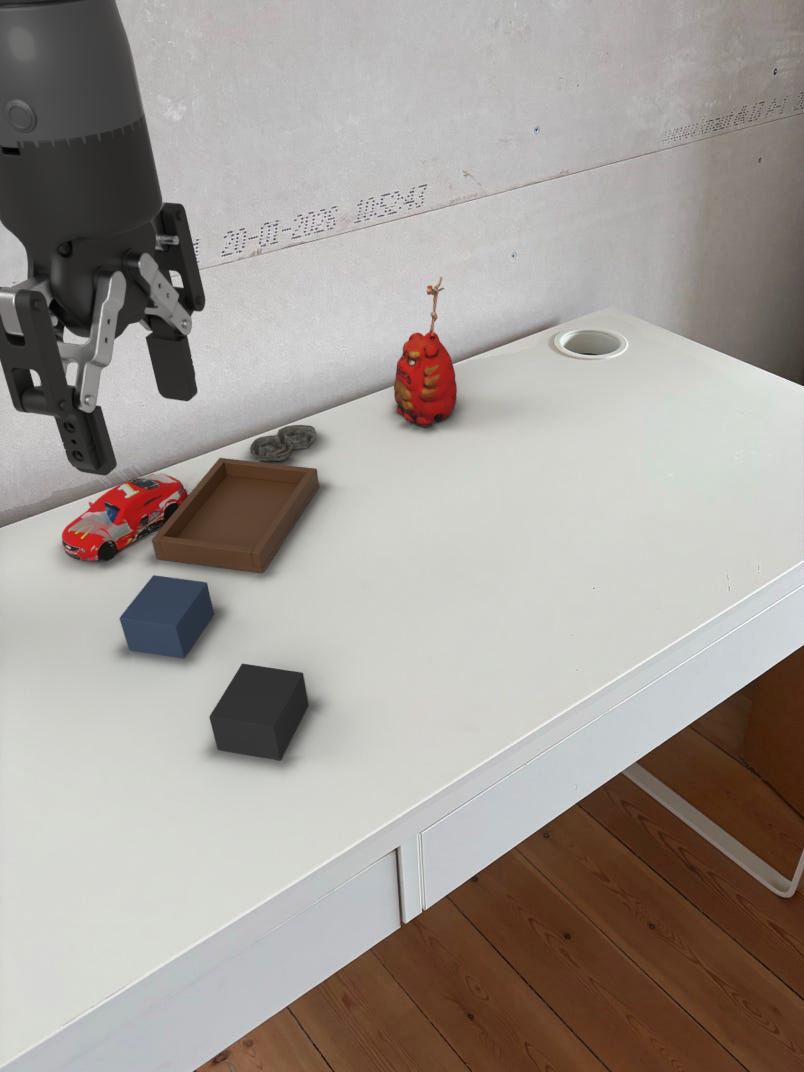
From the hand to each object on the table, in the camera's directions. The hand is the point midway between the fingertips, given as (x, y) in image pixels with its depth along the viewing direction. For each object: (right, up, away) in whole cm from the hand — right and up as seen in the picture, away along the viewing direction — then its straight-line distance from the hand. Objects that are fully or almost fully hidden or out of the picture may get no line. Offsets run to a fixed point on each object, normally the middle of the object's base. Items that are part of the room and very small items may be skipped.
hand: (140, 432), depth 56 cm
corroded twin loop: (-2, +9, +53) cm, 54 cm away
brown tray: (-4, 0, +43) cm, 43 cm away
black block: (+2, -18, +21) cm, 28 cm away
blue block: (-7, -11, +30) cm, 33 cm away
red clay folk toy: (+13, +14, +59) cm, 62 cm away
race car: (-15, -1, +42) cm, 44 cm away
